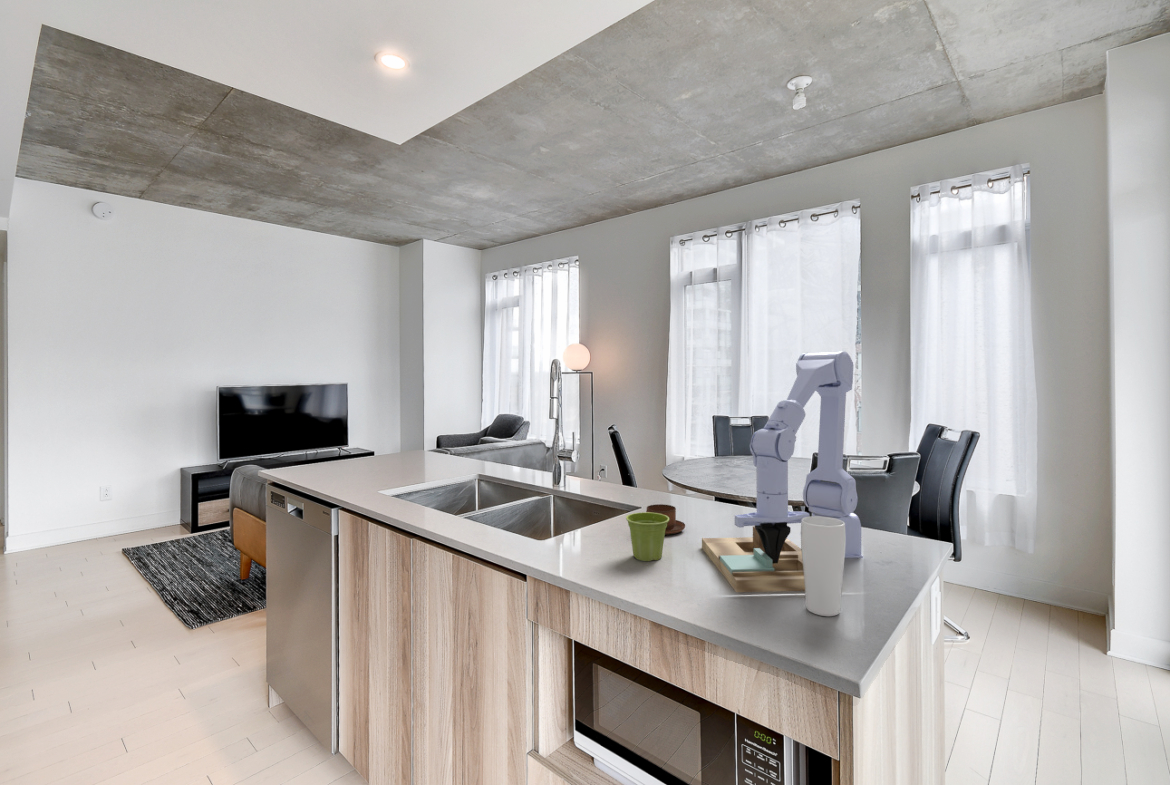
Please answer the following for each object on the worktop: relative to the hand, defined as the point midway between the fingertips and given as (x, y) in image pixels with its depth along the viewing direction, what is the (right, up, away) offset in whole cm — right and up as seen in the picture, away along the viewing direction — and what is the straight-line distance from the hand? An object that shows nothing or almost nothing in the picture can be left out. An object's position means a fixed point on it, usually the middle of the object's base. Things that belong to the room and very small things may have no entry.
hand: (772, 561), depth 106 cm
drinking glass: (+3, -4, -15) cm, 16 cm away
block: (+3, -3, +12) cm, 13 cm away
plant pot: (-22, -3, +14) cm, 26 cm away
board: (+1, -3, +6) cm, 7 cm away
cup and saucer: (-17, -3, +34) cm, 38 cm away
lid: (-5, -1, 0) cm, 5 cm away
